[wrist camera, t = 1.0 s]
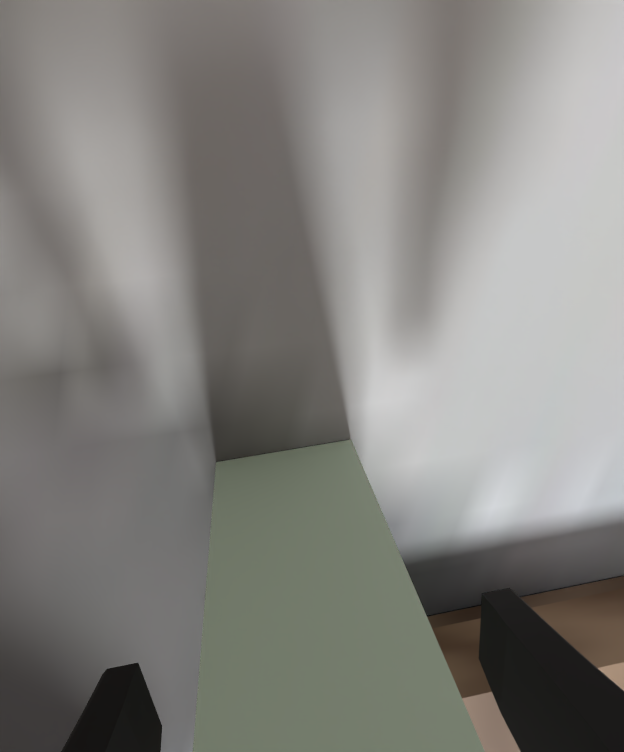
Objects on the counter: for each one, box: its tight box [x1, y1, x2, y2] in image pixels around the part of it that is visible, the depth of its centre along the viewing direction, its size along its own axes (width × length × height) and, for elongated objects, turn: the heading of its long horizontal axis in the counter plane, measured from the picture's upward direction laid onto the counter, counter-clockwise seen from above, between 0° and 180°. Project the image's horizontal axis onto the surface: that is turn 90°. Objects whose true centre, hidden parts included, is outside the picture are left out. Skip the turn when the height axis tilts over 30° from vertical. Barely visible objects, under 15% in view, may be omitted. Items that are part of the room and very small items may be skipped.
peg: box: [193, 440, 485, 752], centre depth 11 cm, size 4×4×9 cm
